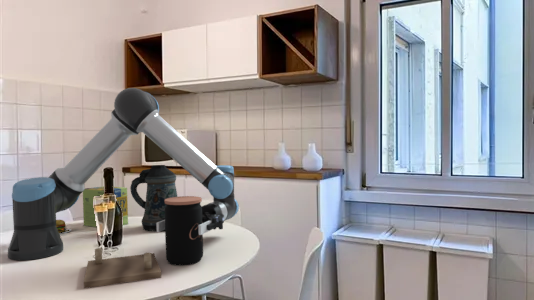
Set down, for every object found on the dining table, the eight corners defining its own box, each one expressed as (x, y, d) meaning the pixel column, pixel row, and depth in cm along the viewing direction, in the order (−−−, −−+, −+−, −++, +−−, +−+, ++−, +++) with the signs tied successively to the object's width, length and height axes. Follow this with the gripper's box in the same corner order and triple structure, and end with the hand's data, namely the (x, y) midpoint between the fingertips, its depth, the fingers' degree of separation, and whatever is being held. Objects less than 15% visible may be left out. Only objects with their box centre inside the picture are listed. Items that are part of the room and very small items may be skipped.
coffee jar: (195, 267, 109) (193, 202, 109) (159, 265, 111) (157, 201, 111) (208, 255, 120) (207, 196, 119) (175, 254, 122) (173, 195, 121)
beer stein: (190, 228, 157) (189, 165, 156) (141, 235, 146) (139, 168, 146) (175, 221, 171) (173, 163, 170) (129, 227, 160) (127, 165, 159)
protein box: (108, 229, 158) (106, 190, 157) (83, 225, 165) (81, 188, 165) (128, 224, 167) (127, 187, 167) (104, 220, 175) (103, 185, 174)
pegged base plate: (84, 288, 95) (83, 265, 95) (88, 266, 112) (87, 246, 112) (161, 277, 102) (160, 256, 101) (154, 258, 118) (153, 239, 118)
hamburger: (64, 237, 148) (64, 223, 148) (34, 237, 149) (33, 223, 149) (81, 230, 160) (81, 216, 160) (53, 230, 161) (52, 216, 160)
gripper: (246, 227, 129) (218, 244, 109) (179, 223, 137) (141, 239, 116) (246, 204, 128) (218, 217, 108) (178, 202, 136) (140, 213, 116)
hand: (178, 228), depth 112 cm, fingers open, 13 cm apart
